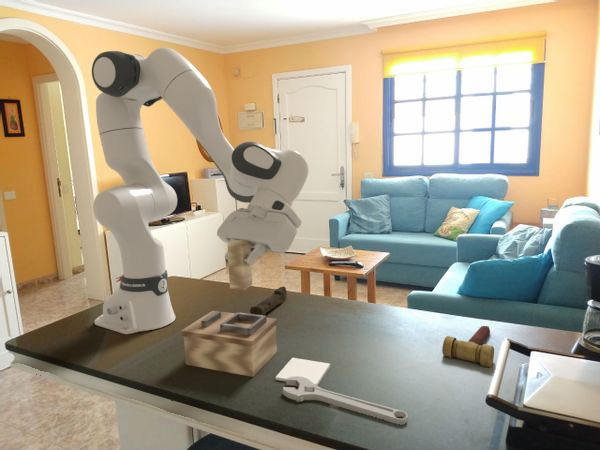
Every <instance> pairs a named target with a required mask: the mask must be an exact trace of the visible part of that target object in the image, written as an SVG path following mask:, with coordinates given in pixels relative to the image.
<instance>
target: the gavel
mask: <svg viewBox="0 0 600 450" xmlns="http://www.w3.org/2000/svg"><path fill="white" fill-rule="evenodd" d="M490 334H491V330H490V326H489V325H483V326H482V325H481V326H480V327H479V328H478V330H476V331H475V333H474V334H473V335H472V336H471V337H470V338H469V340H468V341H465V340H461V339H460V340H458V339H457V338H456V337H454V336H449V335H447V336H445V337H444V340H443V342H442V347H441V350H442V351H441V352H442V356H443V357H445V358H449V359H452V358H457V359H460V360H464V361H468V362H471V363H475V364H476V363H479V364H480V366H481V367H482V366H483V367H486V368H487V367H488V368H491V367H492V366H493V362H494V359H495V357H494V356H495V347H494V346H493V345H491V344H485V343H484V341H486V339H487V338H488V336H489V335H490Z"/></svg>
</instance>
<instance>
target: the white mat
mask: <svg viewBox="0 0 600 450" xmlns="http://www.w3.org/2000/svg"><path fill="white" fill-rule="evenodd" d="M330 368H331V363H329V362H322V361H316V360H309V359H304V358H303V359H302V358H297V357H291V358H290V360H289V361H288V362H287V363H286V364H285V366H284V367H283V368H282V369H281V370H280V371H279V373H278V374H276V376H275V380H276V381H280V382H281V381H282V382H286V379H287V378H289V377H295V376H299V377H304V378H307V379H309V380H310V381H311V382H312V383H314V384H315V385H317V386H318V387H319V385H320V383H321V381H322V379H323V378H324V377H325V375H326V374H327V372H328V371H329V369H330Z"/></svg>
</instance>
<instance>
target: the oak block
mask: <svg viewBox="0 0 600 450" xmlns="http://www.w3.org/2000/svg"><path fill="white" fill-rule="evenodd" d="M226 244H227V245H226V246H227V251H228V260H227V261H228V262H227V263H228V276H229V277H228V278H229V289H233V290H240V291H241V290H242V291H245V290H247V289H248V288H250V287H252V286H253V273H252V271H253V269H252V268H253V267H252V265H248V264H246V263H245V262H244V261H243V259H244V258H245V256H246V254H250V253H251V252H252V250H251V249H252V247H251V246H250V242H249V241H241V240H235V241H233V242H230V243H226Z"/></svg>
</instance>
